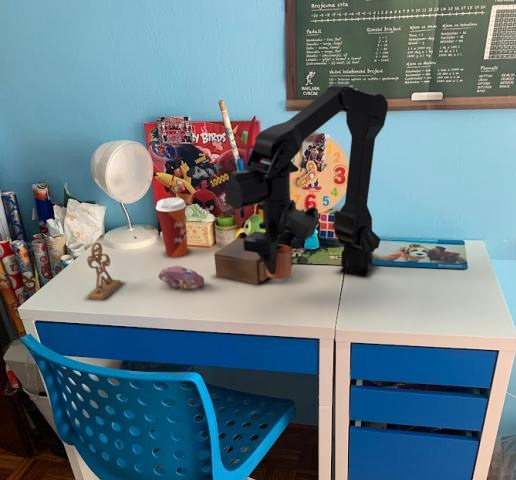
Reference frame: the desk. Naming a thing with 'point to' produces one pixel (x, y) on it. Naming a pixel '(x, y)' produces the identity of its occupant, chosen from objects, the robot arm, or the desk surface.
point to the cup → (282, 263)
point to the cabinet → (237, 263)
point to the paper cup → (173, 225)
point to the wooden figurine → (108, 284)
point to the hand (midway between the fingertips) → (278, 268)
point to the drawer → (263, 271)
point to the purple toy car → (181, 277)
